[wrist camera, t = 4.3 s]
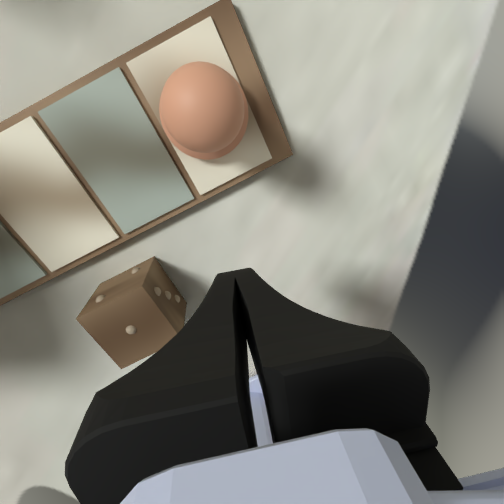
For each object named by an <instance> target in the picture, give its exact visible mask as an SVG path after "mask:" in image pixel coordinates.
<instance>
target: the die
mask: <svg viewBox="0 0 504 504" xmlns="http://www.w3.org/2000/svg"><path fill="white" fill-rule="evenodd" d="M186 305H187V303H186V301H185V300H184V298H183V297H182V296H181V294H180V293H179V291H178V290H177V288H176V287H175V285H174V284H173V283H172V281H171V280H170V278H169V277H168V275H167V274H166V272H165V271H164V270H163V268H162V267H161V265H160V264H159V262H158V261H157V259H156V258H155V256H154V257H152V258H150V259H148V260H146V261H144V262H142V263H140V264H138V265H136V266H134V267H132V268H130V269H128V270H127V271H125V272H123V273H121V274H119V275H117V276H115V277H113V278H111V279H109V280H107V281H105V282H103V283H101V284H100V285H99V286H98V288H97V289H96V291H95V292H94V294H93V295H92V296H91V298H90V299H89V301H88V302H87V304H86V305H85V307H84V308H83V309H82V311H81V312H80V314H79V315H78V317H77V318H76V320H77V321H78V322H79V323H80V324H81V325H82V326H83V327H84V329H85V330H86V331H87V332H88V333H89V334H90V335H91V336H92V337H93V338H94V340H95V341H96V342H97V343H98V344H99V345H100V346H101V347H102V348H103V350H104V351H105V352H106V353H107V354H108V355H109V356H110V357H111V358H112V359H113V361H114V362H115V363H116V364H117V365H118V366H119V367H120V368H121V369H122V368H125V367H127V366H129V365H131V364H133V363H135V362H137V361H139V360H141V359H143V358H145V357H147V356H149V355H151V354H153V353H155V352H157V351H159V350H160V349H161V348H162V347H163V346H164V345H165V344H167V343H168V342H169V341H170V340H171V339H172V338H173V337H174V336H175V335H176V334H177V333H178V332H179V331H180V330H181V329H182V328H183V327H184V320H185V312H186Z"/></svg>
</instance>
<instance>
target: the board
mask: <svg viewBox="0 0 504 504" xmlns="http://www.w3.org/2000/svg"><path fill="white" fill-rule="evenodd" d="M197 61H200V62H209V63H212V64H215V65H217V66H219V67H221V68H222V69H224V70H225V71H227V72H228V73H230V74H231V75H232V76H233V77H234V78H235V79H236V81H237V82H238V83H239V85H240V86H241V88H242V90H243V92H244V94H245V97H246V100H247V104H248V124H247V128H246V131H245V134H244V136H243V138H242V140H241V141H240V143H239V144H238V145H237V146H236V147H235V149H233V150H232V151H231V152H230V153H228V154H226V155H224V156H222V157H220V158H216V159H210V160H203V159H197V158H193V157H191V156H188V155H186V154H185V153H183V152H182V151H180V150H179V149H178V148H177V147H175V146H174V145H173V143H172V142H171V141H170V140H169V138H168V137H167V135H166V133H165V131H164V129H163V126H162V123H161V119H160V113H159V103H160V97H161V93H162V90H163V87H164V85H165V83H166V81H167V79H168V78H169V76H170V75H171V74H172V73H173V72H174V71H175V70H176V69H178V68H179V67H181V66H183V65H185V64H187V63H191V62H197ZM291 155H293V153H292V151H291V148H290V146H289V143H288V141H287V138H286V136H285V133H284V131H283V128H282V126H281V123H280V121H279V118H278V116H277V113H276V111H275V108H274V106H273V103H272V101H271V98H270V96H269V93H268V91H267V88H266V86H265V84H264V81H263V79H262V76H261V74H260V71H259V69H258V66H257V64H256V61H255V59H254V56H253V54H252V51H251V49H250V46H249V44H248V41H247V39H246V36H245V34H244V31H243V29H242V26H241V24H240V21H239V19H238V16H237V14H236V11H235V9H234V7H233V4H232V2H231V0H220V1H218V2H216V3H214V4H213V5H211V6H209V7H207V8H205V9H204V10H202V11H200V12H198V13H196V14H195V15H193V16H191V17H189V18H187V19H186V20H184V21H182V22H180V23H178V24H177V25H175V26H173V27H171V28H170V29H168V30H166V31H164V32H162V33H161V34H159V35H157V36H155V37H153V38H152V39H150V40H148V41H146V42H144V43H143V44H141V45H139V46H137V47H135V48H134V49H132V50H130V51H128V52H126V53H125V54H123V55H121V56H119V57H117V58H116V59H114V60H112V61H110V62H108V63H107V64H105V65H103V66H101V67H99V68H98V69H96V70H94V71H92V72H91V73H89V74H87V75H85V76H83V77H82V78H80V79H78V80H76V81H74V82H73V83H71V84H69V85H67V86H65V87H64V88H62V89H60V90H58V91H56V92H55V93H53V94H51V95H49V96H47V97H46V98H44V99H42V100H40V101H38V102H37V103H35V104H33V105H31V106H29V107H28V108H26V109H24V110H22V111H21V112H19V113H17V114H15V115H13V116H12V117H10V118H8V119H6V120H4V121H3V122H1V123H0V305H2V304H4V303H6V302H8V301H10V300H12V299H14V298H16V297H18V296H20V295H22V294H24V293H26V292H27V291H29V290H31V289H33V288H35V287H37V286H39V285H41V284H43V283H45V282H47V281H49V280H51V279H53V278H55V277H57V276H59V275H60V274H62V273H64V272H66V271H68V270H70V269H72V268H74V267H76V266H78V265H80V264H82V263H84V262H86V261H88V260H90V259H92V258H93V257H95V256H97V255H99V254H101V253H103V252H105V251H107V250H109V249H111V248H113V247H115V246H117V245H119V244H121V243H123V242H125V241H126V240H128V239H130V238H132V237H134V236H136V235H138V234H140V233H142V232H144V231H146V230H148V229H150V228H152V227H154V226H156V225H158V224H159V223H161V222H163V221H165V220H167V219H169V218H171V217H173V216H175V215H177V214H179V213H181V212H183V211H185V210H187V209H189V208H191V207H192V206H194V205H196V204H198V203H200V202H202V201H204V200H206V199H208V198H210V197H212V196H214V195H216V194H218V193H220V192H222V191H224V190H225V189H227V188H229V187H231V186H233V185H235V184H237V183H239V182H241V181H243V180H245V179H247V178H249V177H251V176H253V175H255V174H257V173H258V172H260V171H262V170H264V169H266V168H268V167H270V166H272V165H274V164H276V163H278V162H280V161H282V160H284V159H286V158H288V157H290V156H291Z"/></svg>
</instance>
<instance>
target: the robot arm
mask: <svg viewBox="0 0 504 504" xmlns="http://www.w3.org/2000/svg"><path fill="white" fill-rule="evenodd" d="M247 342H248V345H249V348H250V352H251V355H252V358H253V362H254V365H255V368H256V372H257V375H255V376H253V377H251V378H249V370H248V354H247ZM429 392H430V386H429V376H428V374H427V372H426V370H425V368H424V366H423V365H422V364H421V363H420V362H419V361H418V359H417V358H416V357H415V356H414V355H413V354H412V353H411V351H410V350H409V349H408V348H407V347H406V346H405V345H404V344H403V343H402V342H401V341H400V340H399V339H398V338H397V337H396V336H394V335H393V334H392V333H391V332H390V331H385V330H379V329H374V328H368V327H363V326H357V325H353V324H349V323H346V322H342V321H338V320H335V319H332V318H329V317H326V316H323V315H321V314H318V313H315V312H313V311H311V310H308V309H306V308H304V307H302V306H300V305H298V304H296V303H294V302H292V301H291V300H289V299H287V298H286V297H284V296H283V295H281V294H280V293H279V292H277V291H276V290H275V289H273V288H272V287H271V286H270V285H268V284H267V283H266V282H265V281H264V280H263V279H262V278H261V277H260V276H259V275H258V274H257V273H256V272H255V271H254V270H253V269H251V268H245V269H240V270H235V271H230V272H224V273H219V274H217V276H216V277H215V279H214V281H213V283H212V285H211V287H210V289H209V291H208V293H207V295H206V296H205V298H204V300H203V301H202V303H201V305H200V306H199V307H198V309H197V310H196V312H195V313H194V315H193V316H192V317H191V319H190V320H189V321H188V322H187V324H186V325H185V326H184V327H183V328H182V329H181V330H180V331H179V332H178V333H177V334H176V335H175V336H174V337H173V338H172V339H171V340H170V341H169V342H168V343H167V344H165V345H164V346H163V347H162V348H161V349H160V350H159V351H158V352H156V353H155V354H154V355H152V356H151V357H150V358H149V359H147V360H146V361H145V362H143V363H142V364H141V365H139V366H138V367H136V368H135V369H134V370H132V371H131V372H129V373H128V374H126V375H124V376H123V377H121V378H119V379H118V380H116V381H115V382H113V383H111V384H110V385H108V386H107V387H105V388H103V389H102V390H100V391H98V392H96V394H95V396H94V398H93V400H92V402H91V404H90V406H89V408H88V410H87V412H86V414H85V416H84V419H83V421H82V423H81V426H80V428H79V430H78V433H77V435H76V438H75V440H74V442H73V445H72V447H71V450H70V452H69V454H68V457H67V459H66V462H65V476H66V479H67V481H68V484H69V486H70V488H71V490H72V491H73V493H74V494H75V496H76V497H77V499H78V501H79V502H80V504H504V468H501V469H497V470H493V471H488V472H484V473H480V474H476V475H472V476H468V477H464V478H460V479H457V477H456V476H455V475H454V473H453V472H452V470H451V469H450V467H449V466H448V465H447V463H446V462H445V460H444V459H443V457H442V456H441V454H440V453H439V452H438V450H437V449H436V446H437V444H438V441H437V439H436V437H435V435H434V434H433V432H432V431H431V429H430V428H429V427H428V425H427V424H426V422H425V421H426V415H427V407H428V398H429Z"/></svg>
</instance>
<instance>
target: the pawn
mask: <svg viewBox="0 0 504 504" xmlns="http://www.w3.org/2000/svg"><path fill="white" fill-rule="evenodd" d="M159 113H160V119H161V123H162V126H163V129H164V131H165V133H166V135H167V137H168V138H169V140H170V141H171V142H172V143H173V145H174V146H175V147H177V148H178V149H179V150H180V151H182V152H183V153H185V154H186V155H188V156H191V157H193V158H197V159H203V160H210V159H216V158H220V157H222V156H224V155H226V154H228V153H230V152H231V151H232V150H233V149H235V147H236V146H237V145H238V144H239V143H240V141H241V140H242V138H243V136H244V134H245V131H246V128H247V124H248V104H247V100H246V97H245V94H244V92H243V90H242V88H241V86H240V85H239V83H238V82H237V81H236V79H235V78H234V77H233V76H232V75H231V74H230V73H228V72H227V71H225V70H224V69H222V68H221V67H219V66H217V65H215V64H212V63H209V62H200V61H197V62H191V63H187V64H185V65H183V66H181V67H179V68H178V69H176V70H175V71H174V72H173V73H172V74H171V75H170V76H169V78H168V79H167V81H166V83H165V85H164V87H163V90H162V93H161V97H160V103H159Z"/></svg>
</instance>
